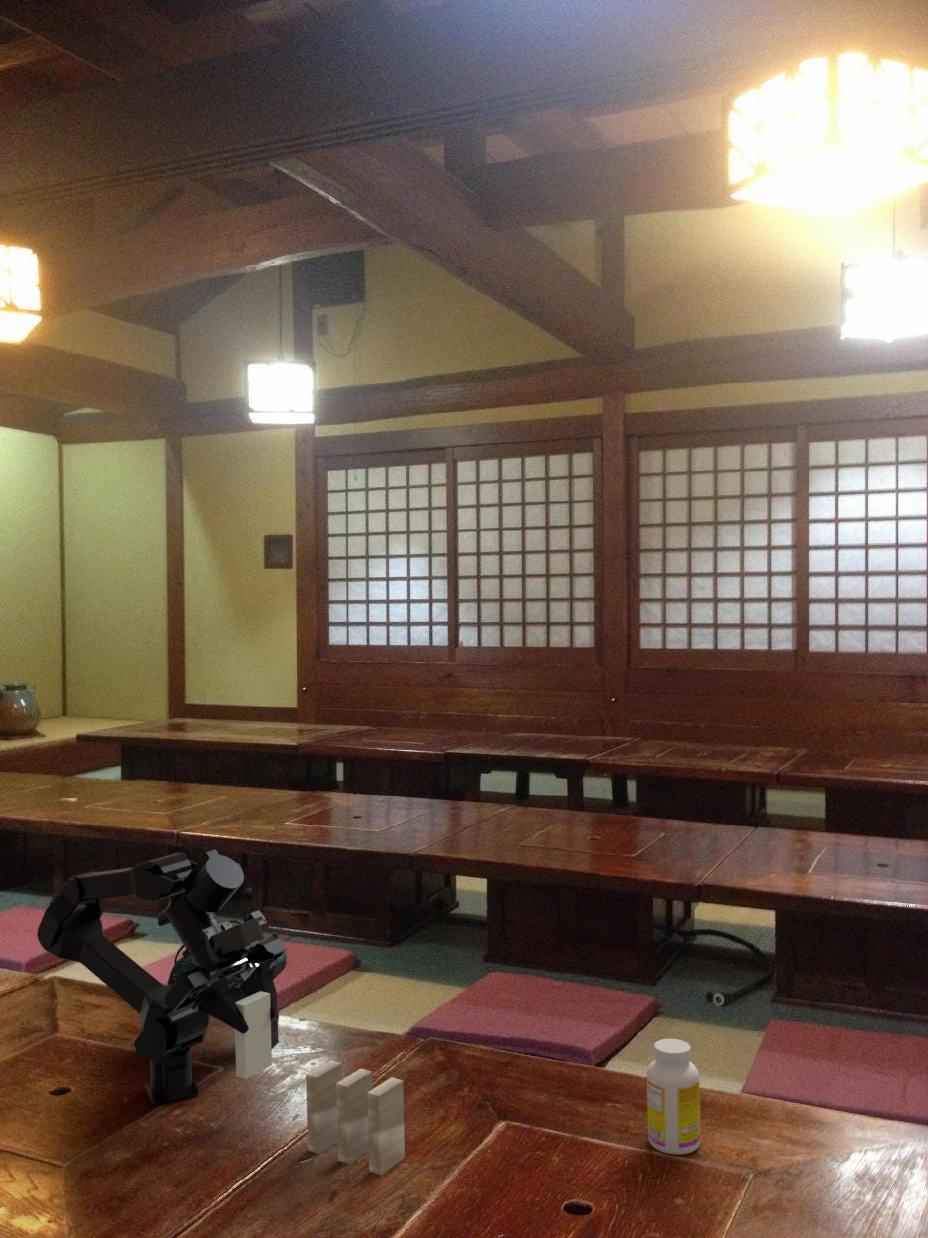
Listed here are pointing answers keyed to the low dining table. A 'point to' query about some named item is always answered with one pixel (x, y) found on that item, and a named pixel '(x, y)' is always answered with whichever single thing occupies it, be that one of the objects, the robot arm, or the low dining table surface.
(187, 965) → the ceramic cat
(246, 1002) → the sage domino
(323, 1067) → the ivory domino
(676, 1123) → the supplement bottle
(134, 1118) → the low dining table surface
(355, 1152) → the ivory domino
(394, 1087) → the ivory domino
